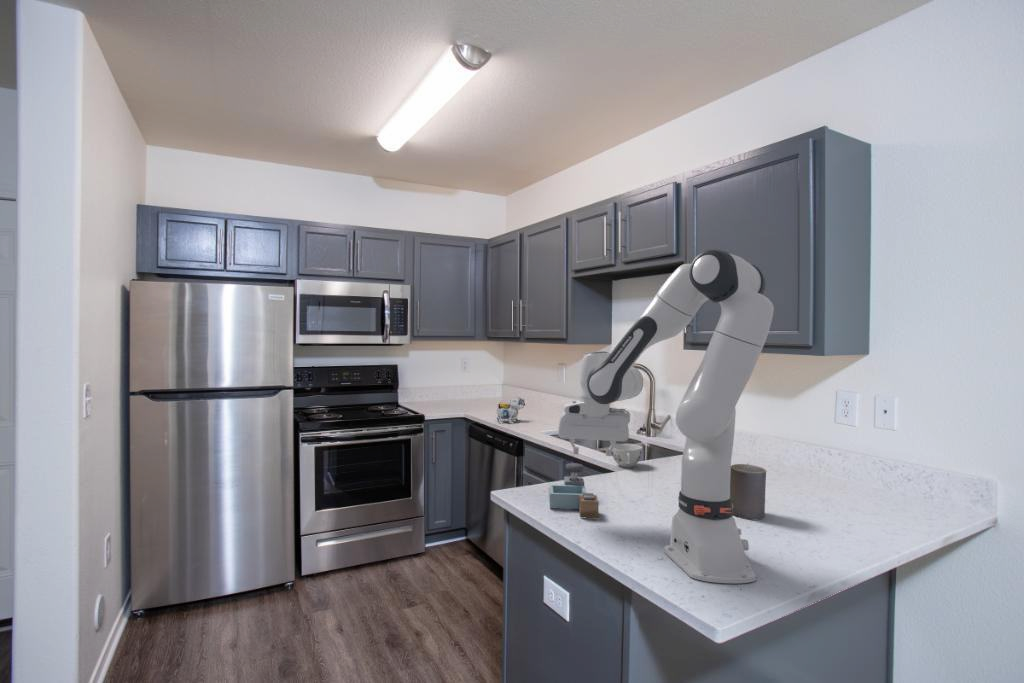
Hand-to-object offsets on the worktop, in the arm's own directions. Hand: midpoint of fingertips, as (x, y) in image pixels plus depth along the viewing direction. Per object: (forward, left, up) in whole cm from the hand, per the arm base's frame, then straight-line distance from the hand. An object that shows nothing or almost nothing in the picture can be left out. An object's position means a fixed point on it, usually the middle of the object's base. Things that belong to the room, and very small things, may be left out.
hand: (592, 454), depth 152 cm
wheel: (+16, +4, -13) cm, 21 cm away
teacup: (+57, -20, -18) cm, 63 cm away
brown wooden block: (-1, +1, -17) cm, 17 cm away
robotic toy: (+155, +31, -18) cm, 159 cm away
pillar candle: (+4, -46, -18) cm, 50 cm away
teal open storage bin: (+11, +6, -17) cm, 21 cm away
